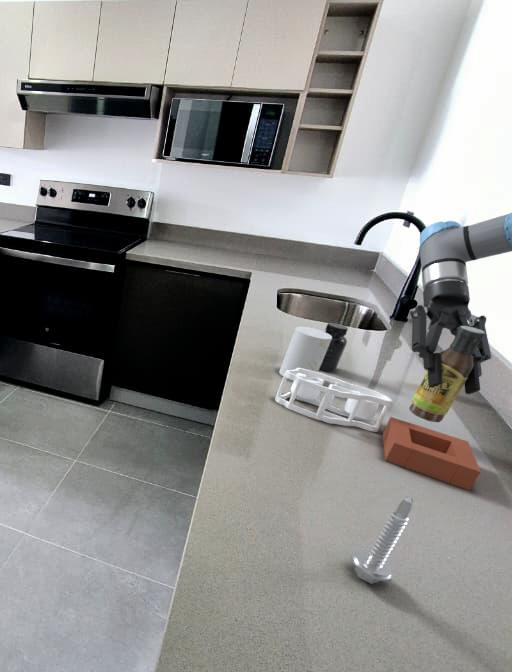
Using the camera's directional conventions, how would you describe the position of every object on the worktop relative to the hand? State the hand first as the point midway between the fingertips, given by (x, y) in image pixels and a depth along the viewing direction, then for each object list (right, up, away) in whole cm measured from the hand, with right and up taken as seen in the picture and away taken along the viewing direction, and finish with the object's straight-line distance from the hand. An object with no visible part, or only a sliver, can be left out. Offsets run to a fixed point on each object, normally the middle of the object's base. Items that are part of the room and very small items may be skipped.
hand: (454, 388), depth 99 cm
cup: (-16, +2, +28) cm, 33 cm away
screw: (-40, -23, -34) cm, 57 cm away
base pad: (-8, -14, -3) cm, 16 cm away
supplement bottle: (-5, +4, +37) cm, 38 cm away
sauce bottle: (-1, -6, +7) cm, 9 cm away
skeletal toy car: (-19, -6, +10) cm, 23 cm away
